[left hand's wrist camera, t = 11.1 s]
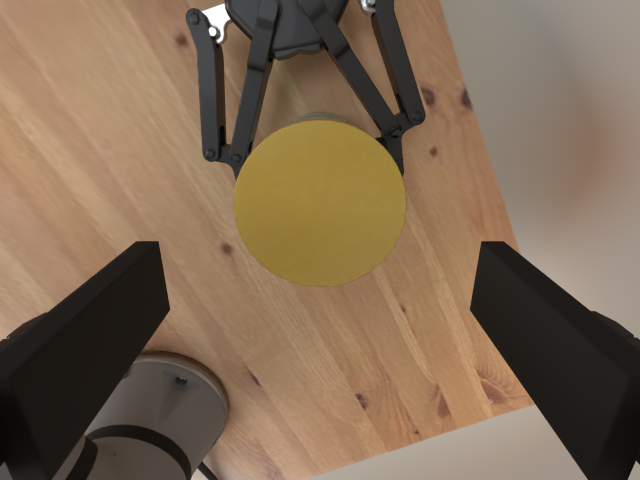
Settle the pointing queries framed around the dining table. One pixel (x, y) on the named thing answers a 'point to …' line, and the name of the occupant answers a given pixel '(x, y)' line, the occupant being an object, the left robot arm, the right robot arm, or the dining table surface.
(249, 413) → the dining table surface
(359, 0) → the right robot arm
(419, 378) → the dining table surface
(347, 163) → the lid
